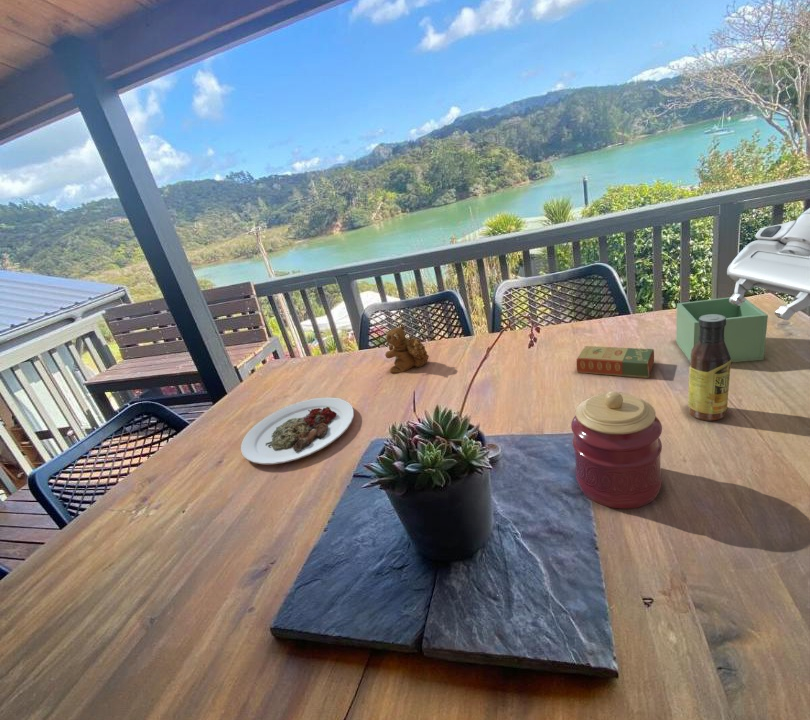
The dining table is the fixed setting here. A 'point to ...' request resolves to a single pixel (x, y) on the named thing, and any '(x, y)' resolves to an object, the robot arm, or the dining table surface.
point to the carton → (616, 361)
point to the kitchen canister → (617, 450)
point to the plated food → (297, 430)
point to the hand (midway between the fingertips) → (755, 310)
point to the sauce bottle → (709, 370)
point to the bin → (739, 332)
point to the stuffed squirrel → (405, 351)
